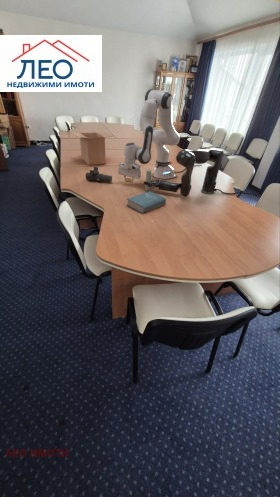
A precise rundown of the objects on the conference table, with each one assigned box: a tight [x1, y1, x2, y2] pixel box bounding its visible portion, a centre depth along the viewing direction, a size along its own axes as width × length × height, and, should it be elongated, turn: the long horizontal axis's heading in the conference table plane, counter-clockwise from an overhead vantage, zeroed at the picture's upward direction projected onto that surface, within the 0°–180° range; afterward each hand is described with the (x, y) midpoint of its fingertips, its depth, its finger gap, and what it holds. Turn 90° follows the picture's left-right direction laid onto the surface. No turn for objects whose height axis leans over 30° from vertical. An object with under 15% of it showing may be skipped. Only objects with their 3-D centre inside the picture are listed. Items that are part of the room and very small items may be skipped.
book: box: [126, 190, 167, 214], centre depth 156 cm, size 23×16×5 cm
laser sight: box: [85, 166, 113, 184], centre depth 187 cm, size 10×22×10 cm, turn 78°
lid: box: [125, 177, 132, 184], centre depth 186 cm, size 5×5×2 cm
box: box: [70, 129, 114, 166], centre depth 229 cm, size 44×36×27 cm
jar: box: [144, 169, 152, 192], centre depth 176 cm, size 4×4×16 cm
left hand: (129, 181), depth 187 cm, fingers closed on lid, 5 cm apart
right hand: (145, 181), depth 178 cm, fingers closed on jar, 4 cm apart
